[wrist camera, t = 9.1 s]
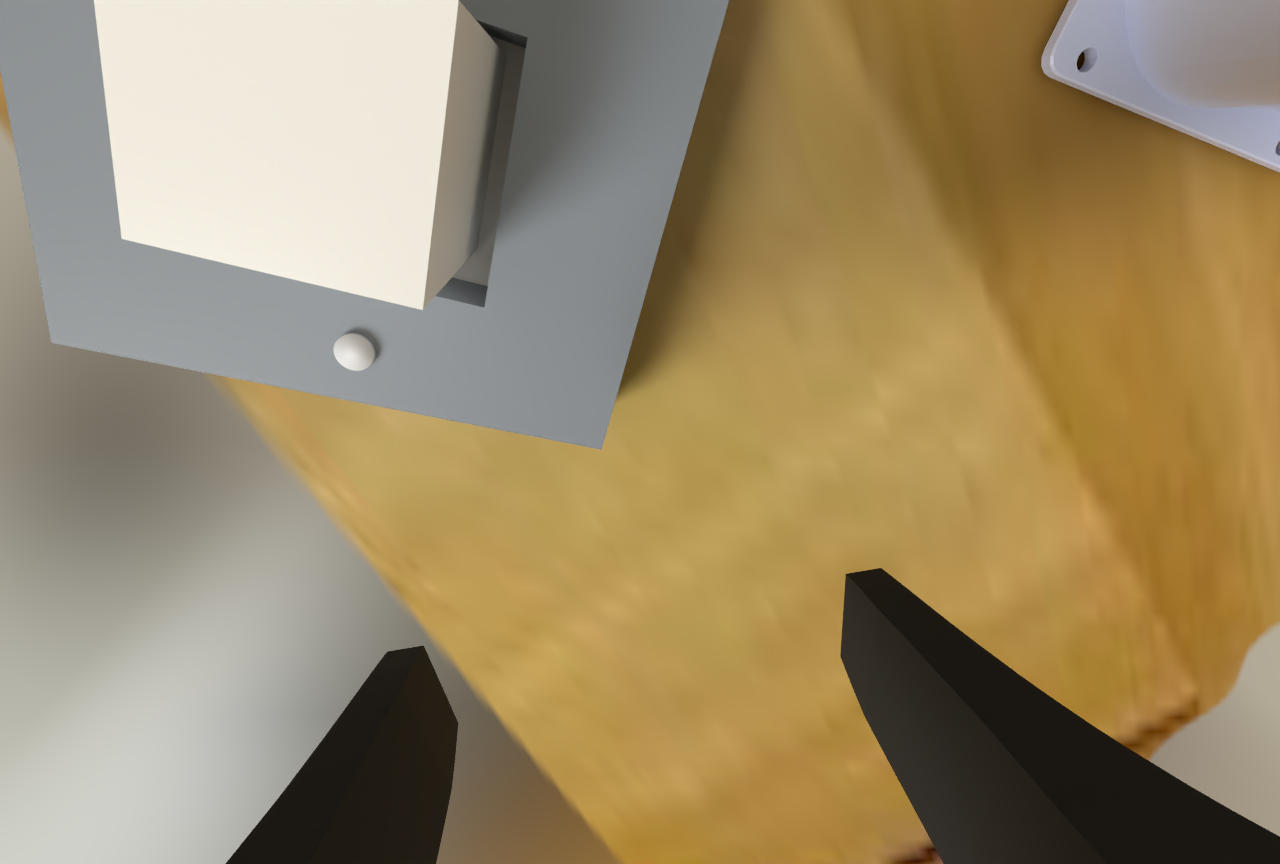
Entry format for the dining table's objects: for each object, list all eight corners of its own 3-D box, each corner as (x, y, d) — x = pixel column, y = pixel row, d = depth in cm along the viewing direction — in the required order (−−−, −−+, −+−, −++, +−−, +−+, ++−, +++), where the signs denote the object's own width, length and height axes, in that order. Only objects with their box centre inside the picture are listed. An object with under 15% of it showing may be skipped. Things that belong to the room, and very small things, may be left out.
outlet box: (724, -53, 13) (758, -96, 10) (598, 410, 18) (602, 452, 15) (49, -331, 10) (-116, -478, 8) (128, 312, 15) (44, 345, 13)
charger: (506, 56, 13) (459, -1, 8) (477, 248, 15) (422, 309, 9) (298, -15, 12) (76, -137, 7) (295, 200, 14) (121, 238, 8)
